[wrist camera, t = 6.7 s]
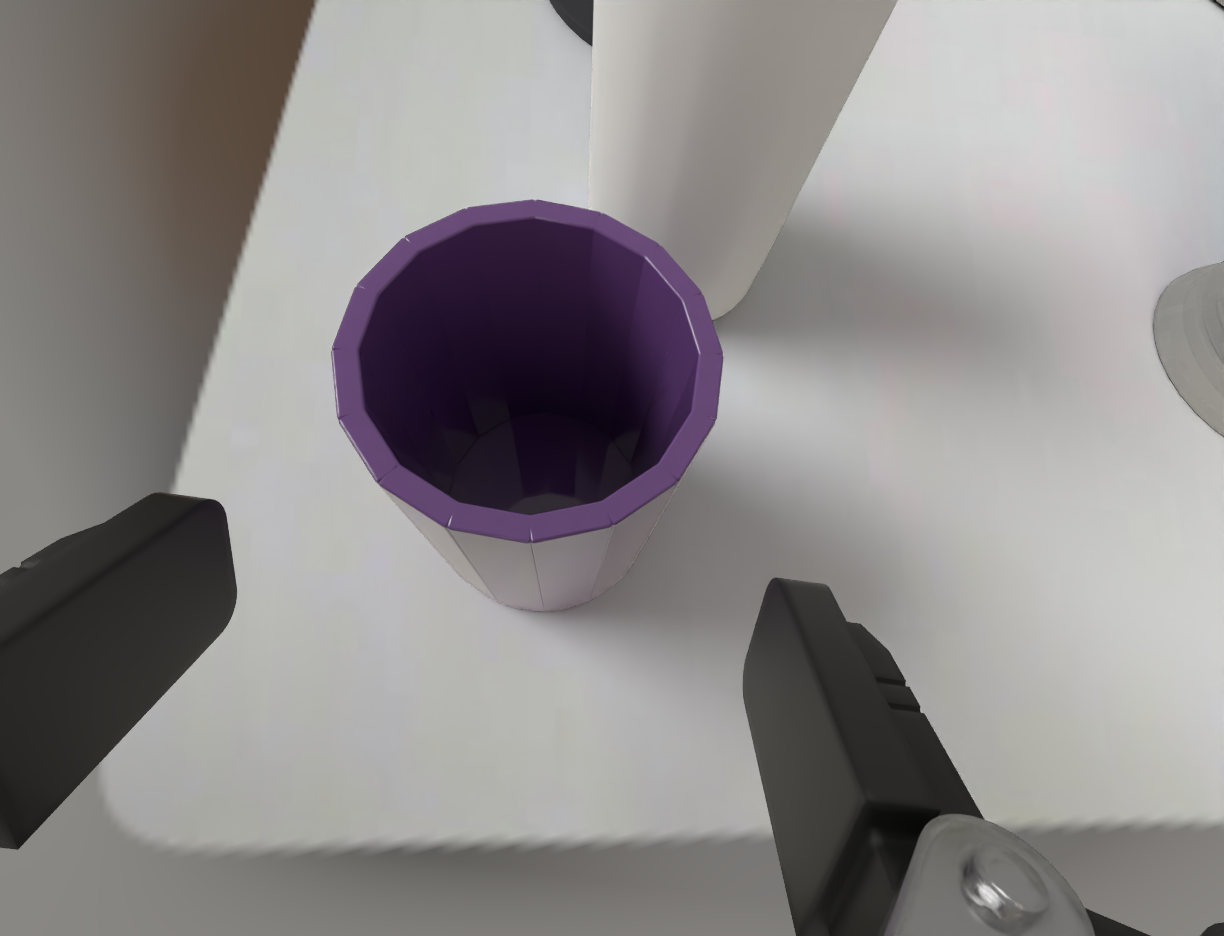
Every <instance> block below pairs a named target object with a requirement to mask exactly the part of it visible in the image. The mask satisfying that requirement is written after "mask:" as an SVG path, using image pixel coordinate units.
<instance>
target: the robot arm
mask: <svg viewBox="0 0 1224 936" xmlns="http://www.w3.org/2000/svg"><path fill="white" fill-rule="evenodd" d="M236 599H237V586H236V579H235V572H234V565H233V558H232V551H231V544H230V537H229V530H228V523H227V517H226V512H225V510H224V508H223V506H222V505H221V504H220V503H219V502H218V501H216V500H213V499H206V498H198V497H191V496H184V495H176V494H169V493H161V492H160V493H154V494H151V495H149V496H147V497H145V498H143V499H142V500H140V501H138V502H137V503H135V504H134V505H132V506H130V507H129V508H127V509H126V510H124V511H122V512H121V513H119V514H117V515H116V516H114V517H113V518H111V519H109V520H108V521H106V522H105V523H102V524H100V525H97V526H94V527H91V528H88V529H86V530H83V531H80V532H77V533H75V534H72V535H69V536H66V537H64V538H61V539H59V540H57V541H56V542H54V543H52V544H51V545H49V546H47V547H46V548H44V549H42V550H41V551H39V552H37V553H36V554H34V555H32V556H31V557H29V558H27V559H26V560H24V561H22V562H21V566H20V567H19V568H16V567H13V568H11V569H9V570H7V571H6V572H4V573H2V574H1V575H0V847H1V848H9V849H17V850H18V849H19V848H20V847H21V846H22V845H23V844H24V843H25V841H27V839H28V838H29V837H30V836H31V835H32V834H33V833H34V832H35V831H36V830H37V829H38V828H39V827H40V825H42V824H43V822H44V821H45V820H46V819H47V818H48V817H49V816H50V815H51V814H52V813H53V812H54V811H55V810H56V809H57V808H58V806H59V805H60V804H61V803H62V802H63V801H64V800H65V799H66V798H67V797H68V796H69V795H70V794H71V793H72V792H73V791H74V789H75V788H76V787H77V786H78V785H79V784H80V783H81V782H82V781H83V780H84V779H85V778H86V777H87V776H88V774H89V773H90V772H91V771H92V770H93V769H94V768H95V767H96V766H97V765H98V764H99V763H100V762H101V761H102V760H103V759H104V758H105V757H106V755H107V754H108V753H109V752H110V751H111V750H112V749H113V748H114V747H115V746H116V745H117V744H118V743H119V742H120V741H121V739H122V738H123V737H124V736H125V735H126V734H127V733H128V732H129V731H130V730H131V729H132V728H133V727H134V726H135V725H136V724H137V722H138V721H139V720H140V719H141V718H142V717H143V716H144V715H145V714H146V713H147V712H148V711H149V710H150V709H151V708H152V707H153V705H154V704H155V703H156V702H157V701H158V700H159V699H160V698H161V697H162V696H163V695H164V694H165V693H166V692H167V691H168V689H169V688H170V687H171V686H172V685H173V684H174V683H175V682H176V681H177V680H178V679H179V678H180V677H181V676H182V675H183V674H184V672H185V671H186V670H187V669H188V668H189V667H190V666H191V665H192V664H193V663H194V662H195V661H196V660H197V659H198V658H199V657H200V655H201V654H202V653H203V652H204V651H205V650H206V649H207V648H208V647H209V646H210V645H211V644H212V643H213V642H214V641H215V640H216V638H217V637H218V636H219V635H220V634H221V633H222V632H223V631H224V629H225V628H226V626H227V625H228V623H229V621H230V619H231V617H232V614H233V611H234V608H235V604H236ZM905 682H906V680H905V679H904V677H903V675H902V673H901V672H900V670H899V668H898V666H897V664H896V663H895V661H894V659H893V657H892V656H891V654H890V652H889V651H888V650H887V649H886V648H885V647H884V646H883V645H882V644H881V643H880V642H879V641H878V640H877V639H876V638H875V637H874V636H873V635H872V634H871V633H869V632H868V631H867V630H866V629H865V628H864V627H863V626H862V625H861V624H858V623H850V622H846V620H845V618H844V616H843V614H842V612H841V610H840V608H839V606H838V604H837V602H836V600H835V598H834V596H833V594H832V592H831V590H830V588H829V587H828V586H827V585H825V584H819V583H812V582H805V581H797V580H790V579H783V578H773V579H772V580H771V581H770V583H769V584H768V587H767V589H766V592H765V595H764V599H763V602H762V605H761V609H760V612H759V615H758V619H757V622H756V625H755V629H754V632H753V635H752V639H751V642H750V645H749V649H748V652H747V655H746V659H745V664H744V671H743V697H744V703H745V708H746V713H747V717H748V722H749V726H750V731H751V735H752V740H753V744H754V749H755V753H756V758H757V762H758V767H759V771H760V775H761V780H762V784H763V789H764V793H765V798H766V802H767V807H768V811H769V816H770V820H771V825H772V829H773V834H774V838H775V843H776V847H777V852H778V856H779V861H780V865H781V870H782V874H783V879H784V883H785V888H786V892H787V897H788V901H789V906H790V910H791V915H792V919H793V924H794V928H795V932H796V936H1150V935H1147V934H1145V933H1143V932H1140V931H1138V930H1135V929H1133V928H1131V927H1128V926H1126V925H1124V924H1121V923H1119V922H1116V921H1114V920H1111V919H1109V918H1107V917H1104V916H1102V915H1100V914H1097V913H1095V912H1093V911H1090V910H1088V909H1086V908H1085V907H1084V906H1083V904H1082V902H1081V901H1080V900H1079V898H1078V896H1077V894H1076V893H1075V892H1074V890H1073V889H1072V888H1071V886H1070V885H1069V883H1068V882H1067V881H1066V879H1065V878H1064V877H1063V876H1062V875H1061V874H1060V873H1059V872H1058V870H1057V869H1056V868H1055V867H1054V866H1053V865H1052V864H1051V863H1050V862H1049V861H1048V860H1047V859H1046V858H1044V857H1043V856H1042V855H1041V854H1040V853H1039V852H1038V851H1036V850H1035V849H1034V848H1033V847H1031V846H1030V845H1029V844H1027V843H1026V842H1025V841H1023V840H1021V839H1020V838H1019V837H1017V836H1016V835H1014V834H1013V833H1011V832H1009V831H1007V830H1006V829H1004V828H1002V827H1000V826H998V825H996V824H994V823H991V822H989V821H987V820H984V818H983V816H982V815H981V813H980V811H979V809H978V807H977V806H976V804H975V802H974V800H973V799H972V797H971V795H970V793H969V792H968V790H967V788H966V786H965V785H964V783H963V781H962V779H961V777H960V776H959V774H958V772H957V770H956V769H955V767H954V765H953V763H952V762H951V760H950V758H949V756H948V755H947V753H946V751H945V749H944V747H943V746H942V744H941V742H940V740H939V739H938V737H937V735H936V733H935V732H934V730H933V728H932V726H931V724H930V723H929V721H928V719H927V717H926V716H925V714H924V713H920V705H919V703H918V702H917V700H916V698H915V696H914V694H913V693H912V691H911V689H910V687H906V685H905ZM1200 936H1224V923H1218V924H1214V925H1212V926H1210V927H1208V928H1207V929H1206V930H1205V931H1204V932H1203V933H1202V934H1201V935H1200Z"/></svg>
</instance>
